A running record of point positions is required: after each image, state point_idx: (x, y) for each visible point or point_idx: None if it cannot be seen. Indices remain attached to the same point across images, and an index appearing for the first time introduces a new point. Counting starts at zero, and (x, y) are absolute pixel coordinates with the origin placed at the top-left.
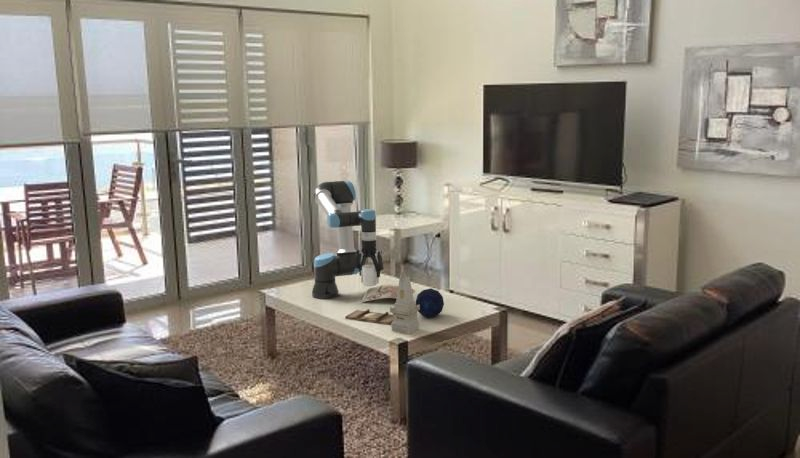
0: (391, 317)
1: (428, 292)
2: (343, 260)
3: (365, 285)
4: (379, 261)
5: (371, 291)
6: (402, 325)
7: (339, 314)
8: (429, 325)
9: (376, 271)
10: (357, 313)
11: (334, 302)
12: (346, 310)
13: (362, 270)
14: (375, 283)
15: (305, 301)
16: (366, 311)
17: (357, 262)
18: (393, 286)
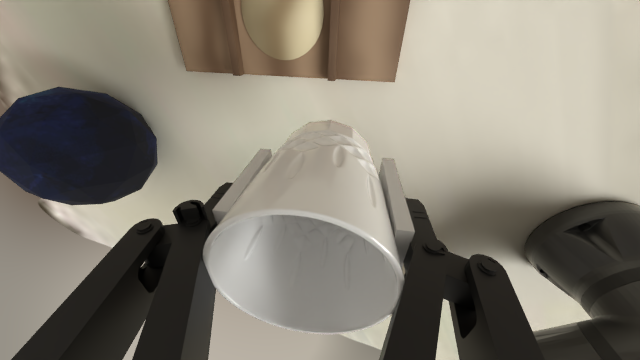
0: (198, 29)
1: (3, 147)
2: None
3: (342, 124)
4: (41, 340)
5: (402, 267)
6: None
7: (476, 4)
8: (43, 19)
9: (199, 207)
10: (372, 23)
11: (532, 175)
12: (452, 88)
13: (378, 209)
14: (267, 151)
15: None
16: (329, 46)
17: (515, 349)
18: None
